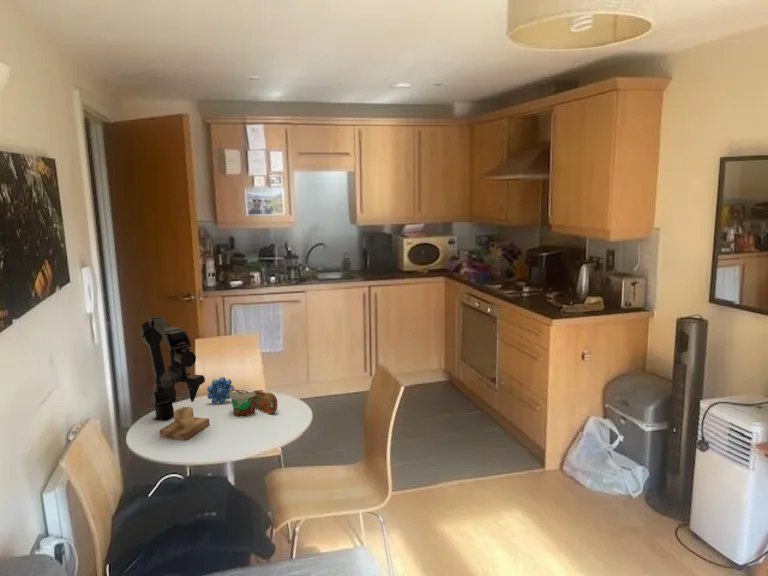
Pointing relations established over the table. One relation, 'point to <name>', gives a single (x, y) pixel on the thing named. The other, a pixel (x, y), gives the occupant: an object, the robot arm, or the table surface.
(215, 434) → the table surface
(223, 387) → the grapes
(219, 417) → the table surface
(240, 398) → the food container
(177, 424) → the oak block
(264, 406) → the tin
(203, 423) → the walnut board
